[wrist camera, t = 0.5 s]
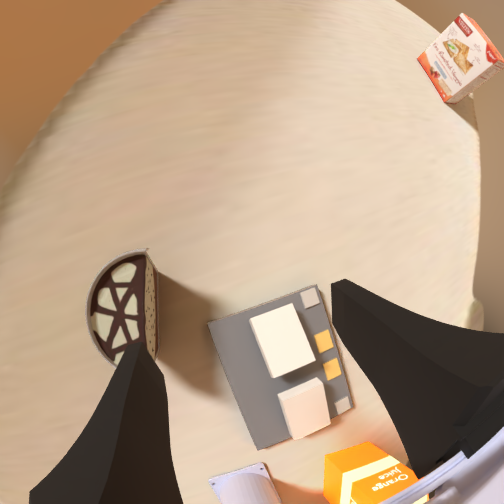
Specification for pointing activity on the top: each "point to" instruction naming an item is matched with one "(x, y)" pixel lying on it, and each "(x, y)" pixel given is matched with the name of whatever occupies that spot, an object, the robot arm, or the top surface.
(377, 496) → the orange juice
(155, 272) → the food container
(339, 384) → the switch board
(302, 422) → the rocker
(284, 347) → the plate
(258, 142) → the top surface
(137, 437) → the robot arm
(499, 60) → the cracker box
